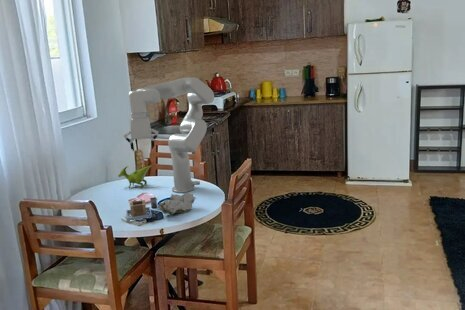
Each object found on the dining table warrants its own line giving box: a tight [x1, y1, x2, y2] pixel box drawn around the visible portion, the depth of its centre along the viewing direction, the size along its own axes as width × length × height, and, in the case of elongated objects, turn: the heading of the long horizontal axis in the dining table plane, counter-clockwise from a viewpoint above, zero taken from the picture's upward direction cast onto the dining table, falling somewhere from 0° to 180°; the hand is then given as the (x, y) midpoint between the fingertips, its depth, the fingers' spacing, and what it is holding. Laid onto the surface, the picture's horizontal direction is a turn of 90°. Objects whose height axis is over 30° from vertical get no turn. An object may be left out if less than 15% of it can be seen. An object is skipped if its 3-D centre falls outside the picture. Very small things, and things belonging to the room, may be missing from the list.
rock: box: [157, 192, 195, 216], centre depth 220 cm, size 19×11×10 cm, turn 134°
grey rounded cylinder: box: [149, 196, 158, 209], centre depth 229 cm, size 3×3×5 cm
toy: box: [117, 164, 153, 189], centre depth 267 cm, size 8×21×15 cm, turn 82°
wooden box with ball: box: [129, 199, 147, 217], centre depth 217 cm, size 8×7×6 cm
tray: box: [125, 206, 153, 223], centre depth 218 cm, size 12×12×2 cm
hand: (143, 149), depth 231 cm, fingers open, 9 cm apart
